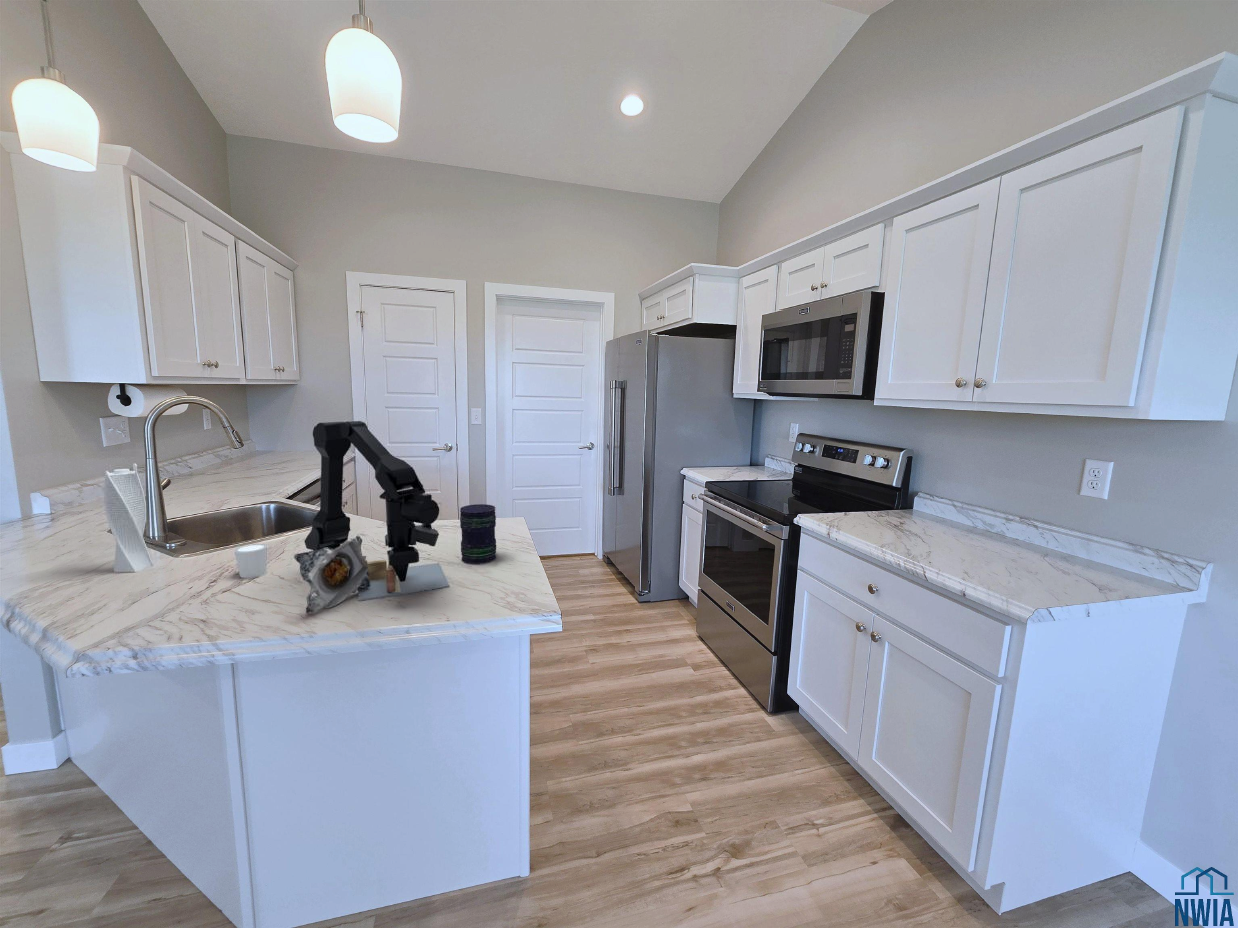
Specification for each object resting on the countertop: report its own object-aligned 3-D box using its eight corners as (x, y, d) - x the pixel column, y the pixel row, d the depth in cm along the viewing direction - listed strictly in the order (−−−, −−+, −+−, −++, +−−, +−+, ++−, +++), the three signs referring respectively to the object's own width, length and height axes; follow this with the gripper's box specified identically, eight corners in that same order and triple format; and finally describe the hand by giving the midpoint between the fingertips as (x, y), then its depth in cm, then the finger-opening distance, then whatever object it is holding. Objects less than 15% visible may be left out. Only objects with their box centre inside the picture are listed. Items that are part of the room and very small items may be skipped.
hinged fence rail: (389, 574, 129) (388, 554, 128) (397, 573, 130) (396, 553, 129) (386, 592, 118) (385, 570, 117) (395, 591, 119) (394, 569, 118)
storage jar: (475, 567, 138) (474, 514, 136) (453, 559, 144) (452, 508, 141) (503, 557, 146) (503, 507, 143) (482, 550, 151) (481, 502, 149)
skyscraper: (162, 563, 136) (150, 461, 132) (137, 573, 128) (123, 465, 124) (132, 563, 135) (119, 461, 131) (105, 573, 128) (90, 465, 124)
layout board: (358, 601, 115) (358, 599, 115) (358, 574, 130) (357, 573, 130) (449, 586, 124) (449, 585, 124) (438, 563, 140) (438, 562, 140)
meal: (357, 585, 122) (351, 534, 120) (371, 588, 121) (365, 535, 119) (300, 612, 108) (293, 555, 106) (315, 615, 107) (308, 557, 105)
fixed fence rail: (360, 582, 125) (359, 563, 124) (360, 579, 126) (359, 560, 125) (387, 578, 127) (386, 559, 127) (387, 576, 129) (386, 557, 128)
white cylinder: (275, 571, 132) (273, 546, 131) (247, 580, 125) (244, 553, 124) (259, 567, 134) (257, 542, 133) (230, 576, 128) (228, 549, 127)
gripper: (441, 524, 114) (443, 589, 117) (430, 506, 131) (432, 564, 133) (387, 529, 109) (391, 597, 112) (383, 510, 126) (386, 570, 128)
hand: (402, 581), depth 121 cm, fingers closed
